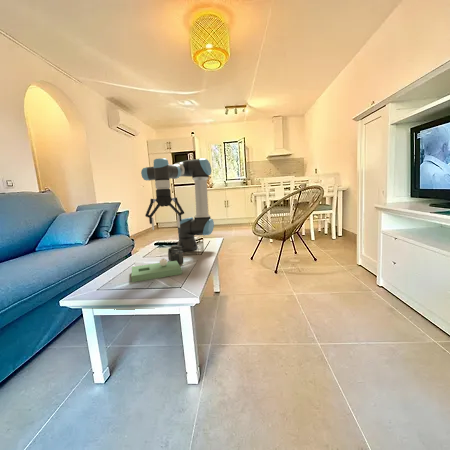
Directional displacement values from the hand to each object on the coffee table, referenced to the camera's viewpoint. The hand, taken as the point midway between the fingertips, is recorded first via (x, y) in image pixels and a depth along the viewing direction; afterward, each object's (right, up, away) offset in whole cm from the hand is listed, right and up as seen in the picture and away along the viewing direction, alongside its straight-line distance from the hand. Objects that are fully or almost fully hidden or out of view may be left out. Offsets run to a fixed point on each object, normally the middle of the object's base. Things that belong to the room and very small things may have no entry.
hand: (166, 228), depth 131 cm
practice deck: (-5, -23, -2) cm, 24 cm away
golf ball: (-1, -18, -2) cm, 18 cm away
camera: (+2, -21, +18) cm, 27 cm away
